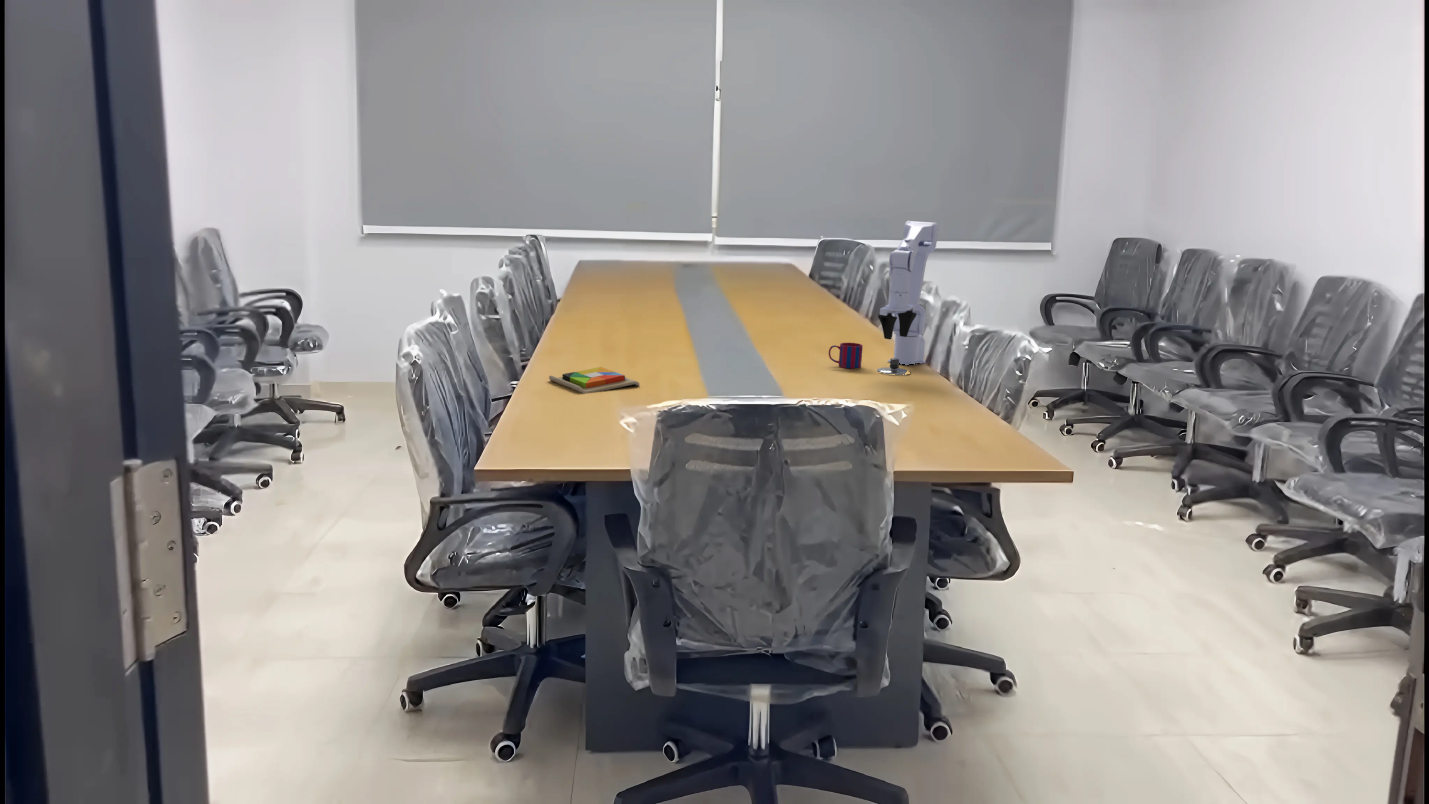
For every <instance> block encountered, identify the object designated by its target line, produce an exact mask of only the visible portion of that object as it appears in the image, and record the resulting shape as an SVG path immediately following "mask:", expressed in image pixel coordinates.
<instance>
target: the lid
mask: <svg viewBox="0 0 1429 804" xmlns="http://www.w3.org/2000/svg"><path fill="white" fill-rule="evenodd" d="M889 360H890V362H889V367H879V368H877V369H876V372H877V371H878V372H881V373H885V374H895V375H903V374H904V375H905V373H906V372H907V370H908V369H905V368H899V367H900V364H899V359H897V358H894V357H891V358H889ZM878 372H877V373H878ZM881 373H880V374H881ZM885 374H884V375H885ZM905 376H906V375H905Z"/></svg>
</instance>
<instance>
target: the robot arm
mask: <svg viewBox="0 0 1429 804" xmlns="http://www.w3.org/2000/svg"><path fill="white" fill-rule="evenodd" d="M902 234H903V239H902V240H901V241H900V243H899V245H898V247H897V248H896V249H894V250H893V251H891V252H890V255H889V259H888V260H889V261H888V263H889V264H888V265H889V266H888V268H889V276H890V277H889V293H888V304H886V305H885V306H884V307H881V308H879V313H878V314H877V318H878V319H879V322H880V324H881V328H882V332H883V338H884V339H885V340H892V338H893V334H894V336H895V337H894V338H895V339H894V348H893V349H894V350H893V351H894V352H893V358H897V359H899V363H900V364H899V365H902V364H905V365H904V366H907V365H909V364H914V365H916V364H915V363H920V364H925V363H926V360H924V357H925V346H926V341H925V339H924V337H923V334H924V332H925V329H926V326H927V325H926V323H927V322H926V320H927V319H926V318H927V312H926V309H925V308H924V307H923V306H922V305H921V304H920V300H921V295H922V288H923V283H924V277H925V273H926V265H927V262H928V257H929V256H930V254H931V253H933V252H935V250H936V247H937V243H938V238H939V237H938V235H939V225H938V223H937V222H935V221H934V222H930V221H928V222H927V221H913V220H907V221H906V222H905V223H904V226H903V233H902ZM893 332H894V333H893ZM888 361H889V363H890V359H887V362H888ZM909 366H910V365H909Z"/></svg>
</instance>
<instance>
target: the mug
mask: <svg viewBox="0 0 1429 804" xmlns="http://www.w3.org/2000/svg"><path fill="white" fill-rule="evenodd" d="M863 347H864V346H863V344H862V343H856V342H841V343H840V344H839V345H836V344H835V345H831V346H830V347H829V350H828V357H829V359H830V360H831V361H832V362H834V363H837V364H838V366H839V367H840V368H842V369H848V368H849V369H848V370H850V369H851V370H855V369H854V368H858V369H861V368H860V367H862V361H863V360H862V358H863V357H862V356H863ZM833 348H836V349H838V350H839V357H838V360H836V359H834V358H832V355H831V351H832V349H833Z"/></svg>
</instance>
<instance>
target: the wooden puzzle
mask: <svg viewBox="0 0 1429 804" xmlns="http://www.w3.org/2000/svg"><path fill="white" fill-rule="evenodd" d="M548 379H549V381H550V382H554V383H555V384H558V385H561V386H564V387H566V388H569V389H571V390H573V391H576V392H577V393H578V392H579V393H581V394H589V393H590V394H591V393H598V392H604V391H608V390H613V389H619V388H624V387H627V386H635V387H640V382H639V381H636V380H633V379H631V378H628V377H626V376H625V375H624V374H622V373H619V372H616V371H615V370H614V371H613V370H611V369H608V368H605V367H602V366H599V367H593V368H588V369H587V368H586V369H583V370H578V371H572V372H567V373H562V375H561V376H559V377H557V376H554V375H549V376H548Z"/></svg>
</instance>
